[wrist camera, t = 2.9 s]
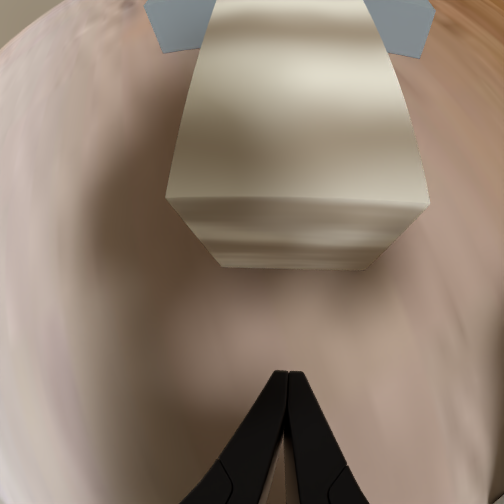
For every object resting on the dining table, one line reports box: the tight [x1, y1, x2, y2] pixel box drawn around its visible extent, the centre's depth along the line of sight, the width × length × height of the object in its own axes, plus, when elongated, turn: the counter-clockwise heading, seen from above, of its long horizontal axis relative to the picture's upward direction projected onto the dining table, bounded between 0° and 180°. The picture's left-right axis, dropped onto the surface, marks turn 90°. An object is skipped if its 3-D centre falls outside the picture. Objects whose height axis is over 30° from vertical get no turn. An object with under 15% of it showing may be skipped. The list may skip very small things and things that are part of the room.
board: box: [144, 0, 436, 59], centre depth 20 cm, size 2×24×6 cm, turn 86°
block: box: [165, 0, 430, 270], centre depth 15 cm, size 16×8×9 cm, turn 177°
